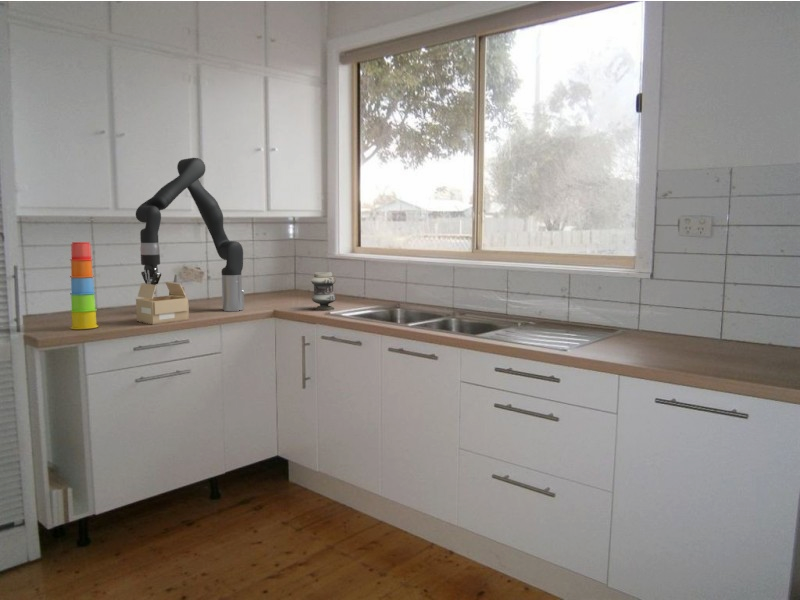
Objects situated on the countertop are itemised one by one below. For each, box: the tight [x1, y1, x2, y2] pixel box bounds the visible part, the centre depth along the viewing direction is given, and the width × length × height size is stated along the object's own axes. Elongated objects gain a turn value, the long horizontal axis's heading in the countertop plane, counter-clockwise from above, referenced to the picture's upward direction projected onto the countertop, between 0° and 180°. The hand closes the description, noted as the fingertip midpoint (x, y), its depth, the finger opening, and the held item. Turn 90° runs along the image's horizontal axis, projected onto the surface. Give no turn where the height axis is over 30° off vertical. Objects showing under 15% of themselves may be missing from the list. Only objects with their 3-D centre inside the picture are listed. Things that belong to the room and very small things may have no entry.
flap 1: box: [137, 282, 158, 299], centre depth 270 cm, size 1×12×6 cm, turn 49°
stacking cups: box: [69, 241, 99, 330], centre depth 256 cm, size 10×10×35 cm
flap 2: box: [164, 281, 187, 297], centre depth 280 cm, size 1×12×6 cm, turn 49°
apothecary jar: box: [310, 271, 337, 311], centre depth 312 cm, size 12×12×18 cm
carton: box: [135, 295, 190, 326], centre depth 276 cm, size 17×15×10 cm
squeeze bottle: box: [168, 274, 186, 297], centre depth 299 cm, size 8×8×18 cm
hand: (152, 294), depth 272 cm, fingers closed
